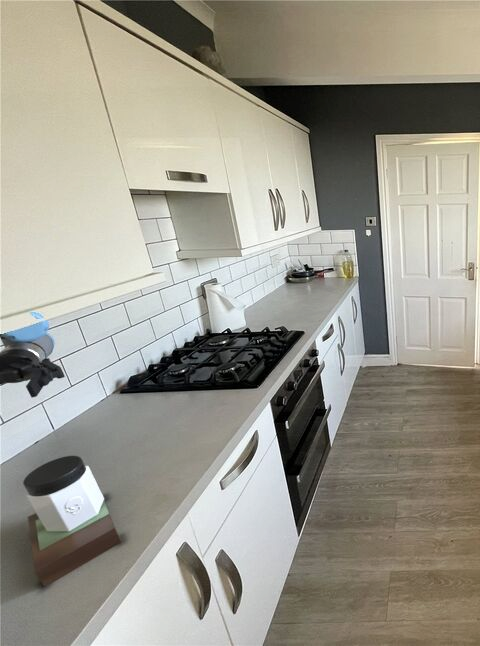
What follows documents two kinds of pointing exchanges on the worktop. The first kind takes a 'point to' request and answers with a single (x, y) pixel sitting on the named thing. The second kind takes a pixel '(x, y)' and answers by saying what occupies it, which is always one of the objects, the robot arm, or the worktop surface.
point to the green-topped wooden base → (70, 545)
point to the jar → (63, 493)
